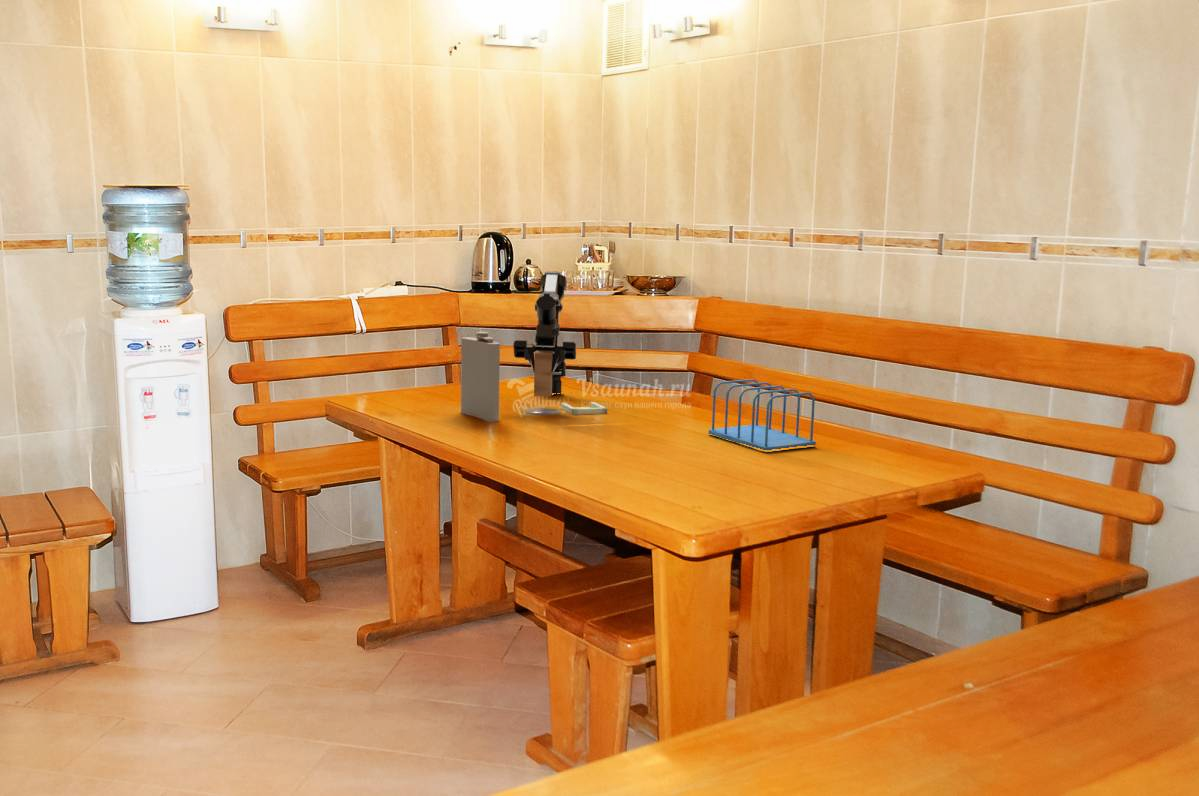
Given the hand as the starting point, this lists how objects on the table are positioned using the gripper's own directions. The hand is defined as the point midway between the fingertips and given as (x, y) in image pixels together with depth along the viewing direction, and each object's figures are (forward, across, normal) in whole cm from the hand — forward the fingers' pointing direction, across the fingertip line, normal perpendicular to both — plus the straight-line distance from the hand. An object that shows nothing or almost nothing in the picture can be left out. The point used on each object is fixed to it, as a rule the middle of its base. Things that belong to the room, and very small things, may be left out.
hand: (543, 372), depth 330 cm
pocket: (+5, +12, +13) cm, 19 cm away
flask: (+14, -18, +4) cm, 23 cm away
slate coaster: (+8, 0, +10) cm, 13 cm away
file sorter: (+30, +62, -12) cm, 70 cm away
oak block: (+4, 0, +6) cm, 7 cm away
